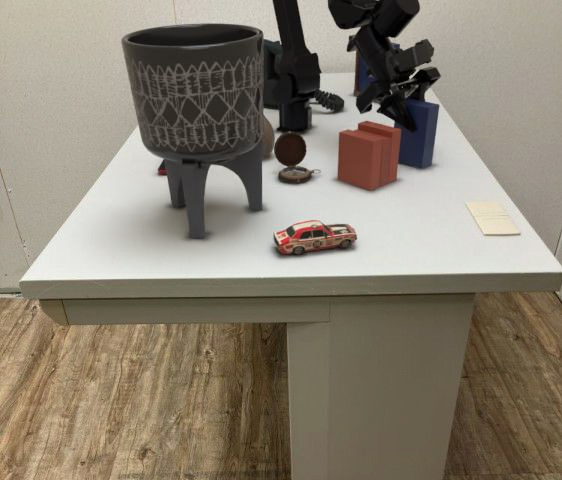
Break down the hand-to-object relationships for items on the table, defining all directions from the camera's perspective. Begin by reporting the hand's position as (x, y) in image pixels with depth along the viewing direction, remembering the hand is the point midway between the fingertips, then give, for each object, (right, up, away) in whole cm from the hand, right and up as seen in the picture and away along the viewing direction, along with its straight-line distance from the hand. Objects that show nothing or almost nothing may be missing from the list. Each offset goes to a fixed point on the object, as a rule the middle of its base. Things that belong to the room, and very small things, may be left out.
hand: (420, 129), depth 113 cm
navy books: (-1, +29, +46) cm, 54 cm away
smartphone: (-46, -3, +8) cm, 47 cm away
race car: (-21, -27, -23) cm, 41 cm away
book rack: (+2, +25, +43) cm, 50 cm away
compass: (-23, -9, +1) cm, 24 cm away
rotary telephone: (-23, +26, +45) cm, 57 cm away
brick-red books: (-10, -10, -2) cm, 15 cm away
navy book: (-1, -5, +5) cm, 7 cm away
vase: (-31, -2, +10) cm, 32 cm away
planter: (-38, -20, -13) cm, 45 cm away
